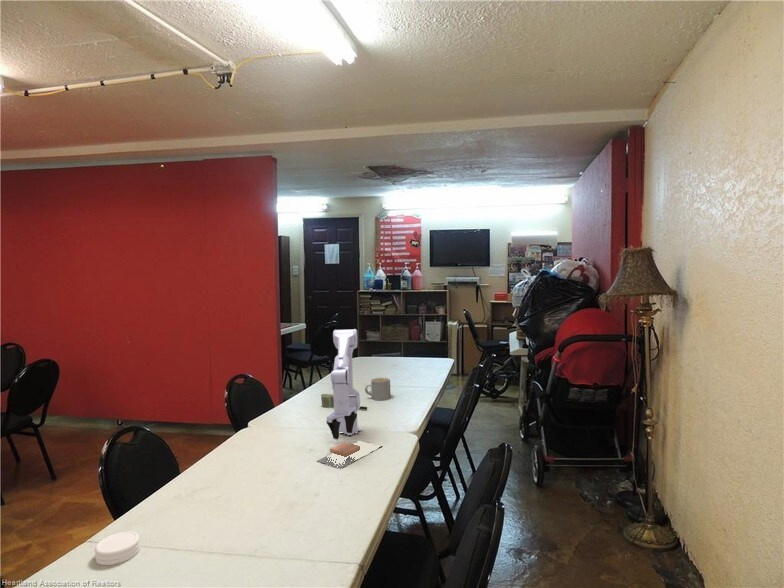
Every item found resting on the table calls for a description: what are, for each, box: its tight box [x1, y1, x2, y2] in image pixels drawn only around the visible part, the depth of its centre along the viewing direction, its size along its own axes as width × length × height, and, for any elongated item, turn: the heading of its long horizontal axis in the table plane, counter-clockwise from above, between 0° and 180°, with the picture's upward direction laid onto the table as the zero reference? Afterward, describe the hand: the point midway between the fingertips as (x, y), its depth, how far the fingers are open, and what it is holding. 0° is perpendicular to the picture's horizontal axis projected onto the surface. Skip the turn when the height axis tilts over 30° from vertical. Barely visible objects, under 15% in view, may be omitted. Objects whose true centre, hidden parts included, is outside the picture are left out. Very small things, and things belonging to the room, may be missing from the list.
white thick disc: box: [94, 530, 141, 566], centre depth 123 cm, size 10×10×4 cm
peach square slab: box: [329, 441, 360, 457], centre depth 184 cm, size 2×8×8 cm
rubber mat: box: [316, 455, 357, 469], centre depth 182 cm, size 12×24×1 cm, turn 144°
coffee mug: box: [364, 376, 392, 402], centre depth 256 cm, size 13×10×10 cm
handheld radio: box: [320, 393, 368, 411], centre depth 240 cm, size 7×3×25 cm
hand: (342, 435), depth 184 cm, fingers open, 7 cm apart
